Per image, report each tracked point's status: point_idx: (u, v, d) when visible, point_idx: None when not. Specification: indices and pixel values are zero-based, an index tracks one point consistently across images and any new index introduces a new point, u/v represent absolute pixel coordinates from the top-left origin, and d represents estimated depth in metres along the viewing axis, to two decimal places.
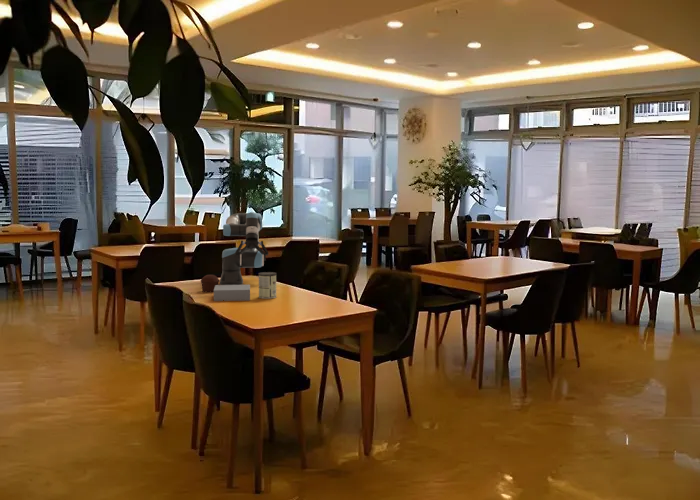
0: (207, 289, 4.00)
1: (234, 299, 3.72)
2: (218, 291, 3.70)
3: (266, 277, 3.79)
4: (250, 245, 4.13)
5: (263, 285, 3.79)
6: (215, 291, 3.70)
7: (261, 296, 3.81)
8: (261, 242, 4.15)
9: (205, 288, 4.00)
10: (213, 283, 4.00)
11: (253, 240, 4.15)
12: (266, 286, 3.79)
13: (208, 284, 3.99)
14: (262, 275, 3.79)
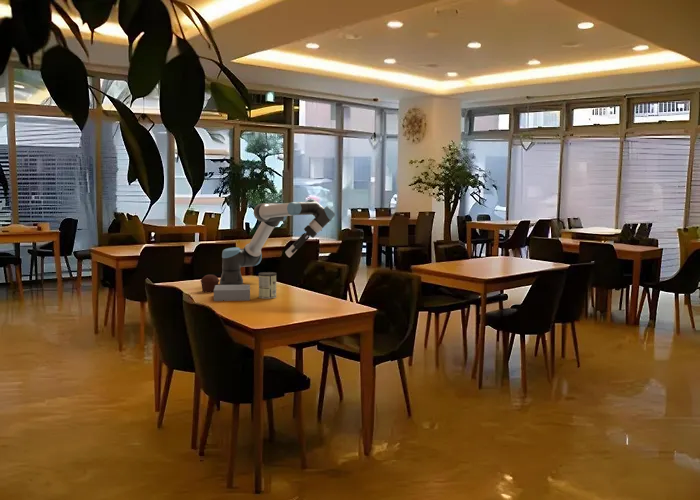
0: (207, 289, 4.00)
1: (234, 299, 3.72)
2: (218, 291, 3.70)
3: (266, 277, 3.79)
4: None
5: (263, 285, 3.79)
6: (215, 291, 3.70)
7: (261, 296, 3.81)
8: None
9: (205, 288, 4.00)
10: (213, 283, 4.00)
11: None
12: (266, 286, 3.79)
13: (208, 284, 3.99)
14: (262, 275, 3.79)
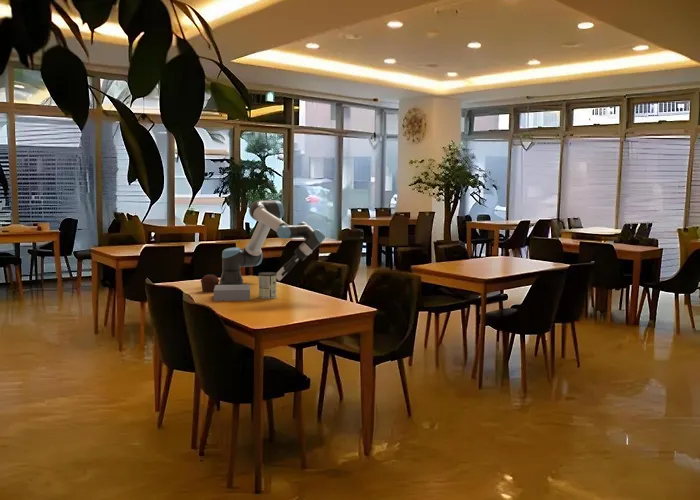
0: (207, 289, 4.00)
1: (234, 299, 3.72)
2: (218, 291, 3.70)
3: (266, 277, 3.79)
4: None
5: (263, 285, 3.79)
6: (215, 291, 3.70)
7: (261, 296, 3.81)
8: None
9: (205, 288, 4.00)
10: (213, 283, 4.00)
11: None
12: (266, 286, 3.79)
13: (208, 284, 3.99)
14: (262, 275, 3.79)
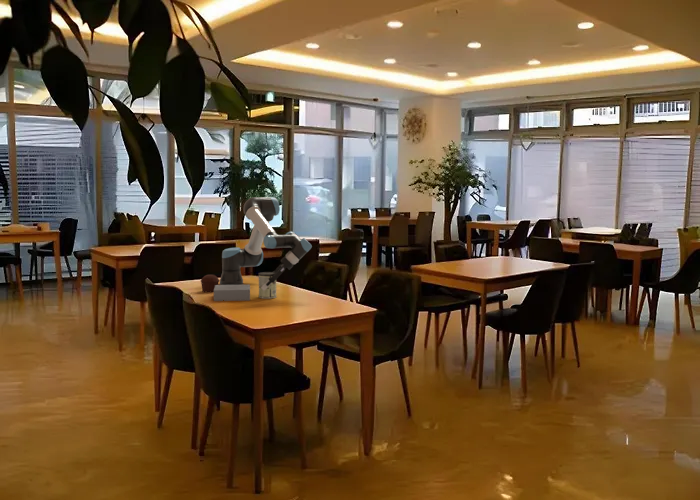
0: (207, 289, 4.00)
1: (234, 299, 3.72)
2: (218, 291, 3.70)
3: (266, 277, 3.79)
4: None
5: None
6: (215, 291, 3.70)
7: (261, 296, 3.81)
8: None
9: (205, 288, 4.00)
10: (213, 283, 4.00)
11: None
12: None
13: (208, 284, 3.99)
14: (262, 275, 3.79)
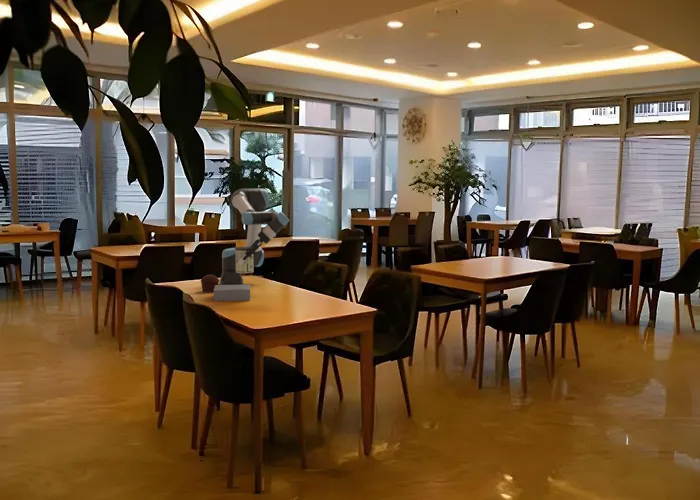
0: (207, 289, 4.00)
1: (234, 299, 3.72)
2: (218, 291, 3.70)
3: (243, 251, 3.74)
4: None
5: None
6: (215, 291, 3.70)
7: (238, 271, 3.76)
8: None
9: (205, 288, 4.00)
10: (213, 283, 4.00)
11: None
12: None
13: (208, 284, 3.99)
14: (239, 249, 3.74)
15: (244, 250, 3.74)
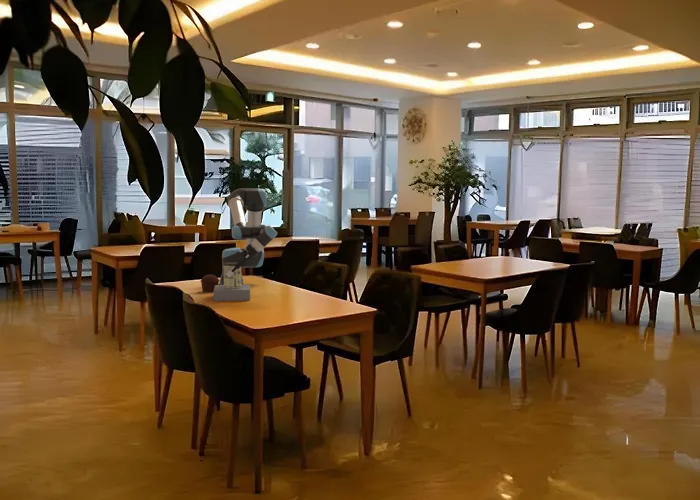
0: (207, 289, 4.00)
1: (234, 299, 3.72)
2: (218, 291, 3.70)
3: (231, 267, 3.75)
4: None
5: None
6: (215, 291, 3.70)
7: (226, 286, 3.78)
8: None
9: (205, 288, 4.00)
10: (213, 283, 4.00)
11: None
12: (231, 276, 3.76)
13: (208, 284, 3.99)
14: (226, 265, 3.76)
15: (232, 265, 3.75)
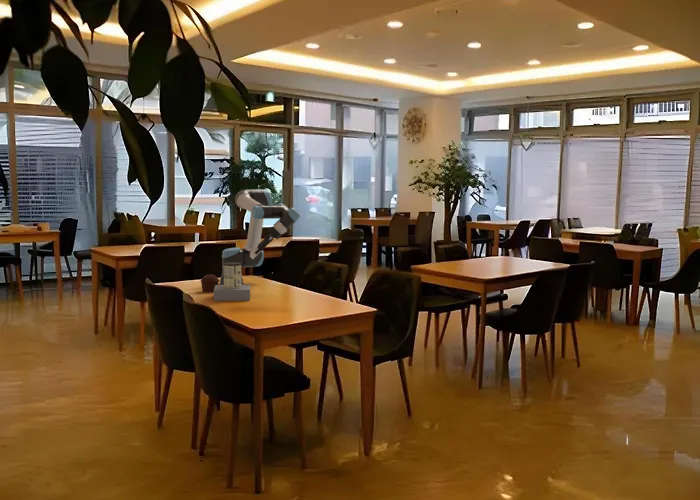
0: (207, 289, 4.00)
1: (234, 299, 3.72)
2: (218, 291, 3.70)
3: (231, 267, 3.75)
4: None
5: (228, 275, 3.76)
6: (215, 291, 3.70)
7: (226, 286, 3.78)
8: None
9: (205, 288, 4.00)
10: (213, 283, 4.00)
11: None
12: (231, 276, 3.76)
13: (208, 284, 3.99)
14: (226, 265, 3.76)
15: (232, 265, 3.75)
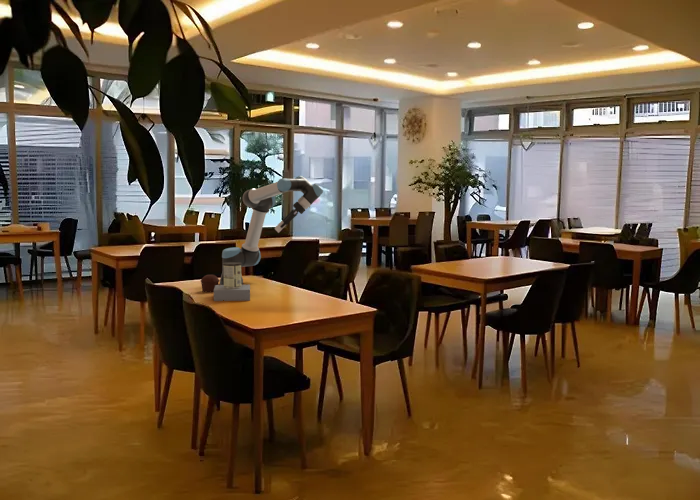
0: (207, 289, 4.00)
1: (234, 299, 3.72)
2: (218, 291, 3.70)
3: (231, 267, 3.75)
4: None
5: (228, 275, 3.76)
6: (215, 291, 3.70)
7: (226, 286, 3.78)
8: None
9: (205, 288, 4.00)
10: (213, 283, 4.00)
11: None
12: (231, 276, 3.76)
13: (208, 284, 3.99)
14: (226, 265, 3.76)
15: (232, 265, 3.75)
